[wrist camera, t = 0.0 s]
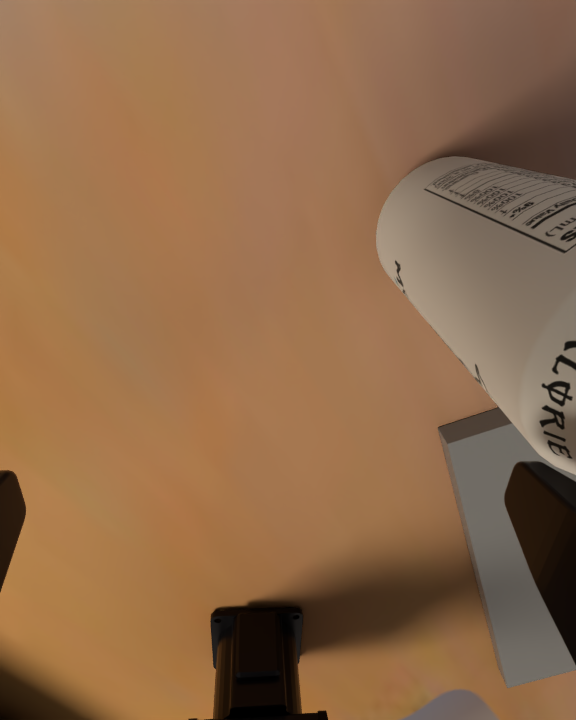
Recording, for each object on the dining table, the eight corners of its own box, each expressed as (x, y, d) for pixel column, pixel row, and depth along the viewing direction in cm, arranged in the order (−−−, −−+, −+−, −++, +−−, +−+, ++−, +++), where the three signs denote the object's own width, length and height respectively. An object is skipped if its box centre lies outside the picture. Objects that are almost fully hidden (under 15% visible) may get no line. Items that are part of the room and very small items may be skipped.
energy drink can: (349, 265, 22) (500, 499, 9) (409, 131, 19) (752, 173, 6) (458, 305, 23) (733, 561, 10) (527, 185, 21) (1016, 315, 7)
